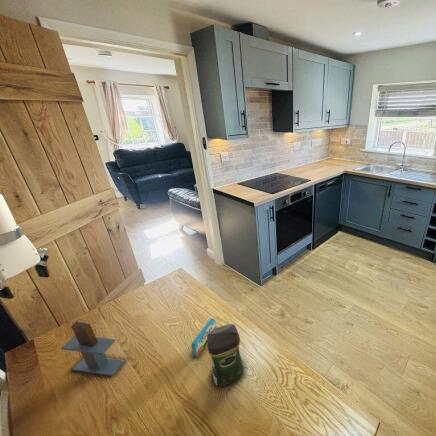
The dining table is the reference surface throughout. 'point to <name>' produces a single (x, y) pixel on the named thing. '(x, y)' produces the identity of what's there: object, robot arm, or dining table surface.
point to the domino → (84, 334)
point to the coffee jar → (225, 354)
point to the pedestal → (94, 356)
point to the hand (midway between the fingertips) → (27, 286)
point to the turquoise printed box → (202, 337)
